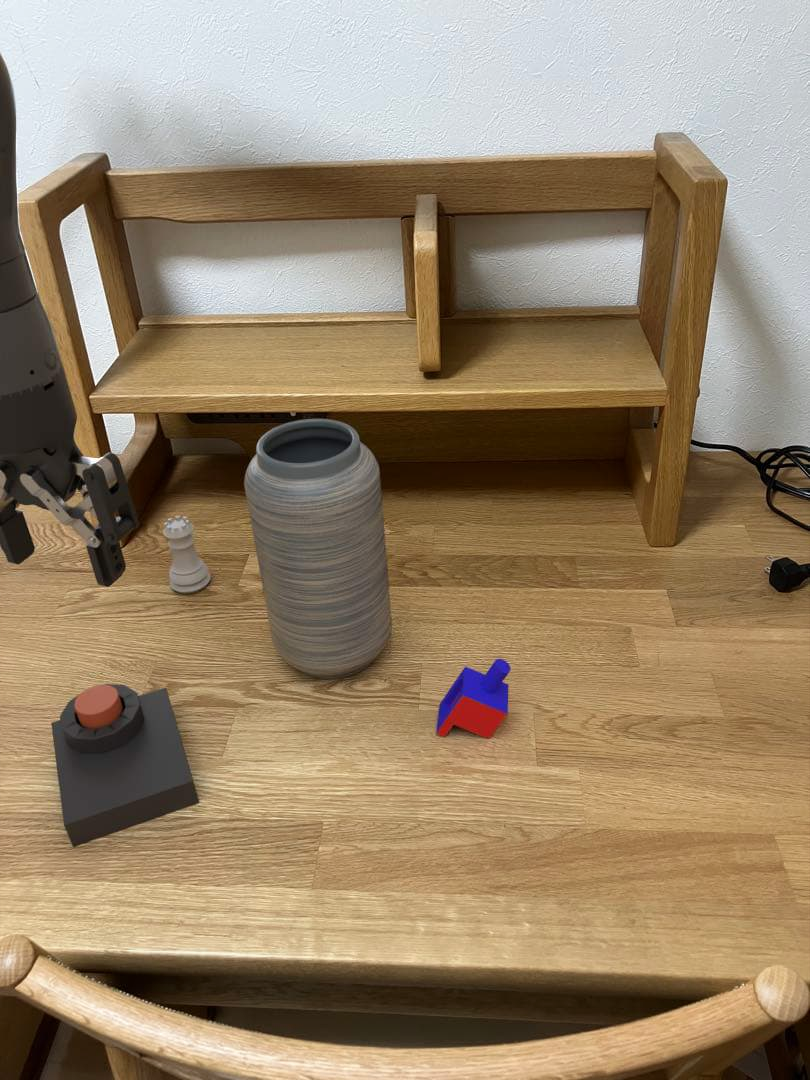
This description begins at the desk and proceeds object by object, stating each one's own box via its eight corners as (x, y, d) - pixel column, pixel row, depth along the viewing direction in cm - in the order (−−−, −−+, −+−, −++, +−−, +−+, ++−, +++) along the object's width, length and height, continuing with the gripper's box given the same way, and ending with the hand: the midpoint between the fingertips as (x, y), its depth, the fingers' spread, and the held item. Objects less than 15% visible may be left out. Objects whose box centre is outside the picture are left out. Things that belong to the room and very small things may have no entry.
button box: (58, 738, 80) (44, 701, 77) (170, 703, 83) (160, 667, 80) (73, 847, 70) (57, 809, 67) (199, 803, 73) (188, 765, 70)
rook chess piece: (219, 583, 98) (205, 522, 94) (182, 601, 96) (167, 538, 91) (199, 566, 101) (185, 506, 97) (163, 583, 99) (147, 522, 94)
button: (77, 707, 77) (72, 692, 76) (119, 694, 78) (114, 679, 77) (81, 734, 74) (76, 719, 73) (125, 721, 75) (120, 705, 74)
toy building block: (479, 751, 78) (523, 692, 73) (435, 733, 77) (477, 673, 73) (481, 721, 81) (523, 663, 76) (439, 704, 80) (479, 644, 76)
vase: (332, 598, 95) (307, 399, 82) (418, 641, 88) (405, 431, 75) (250, 657, 87) (209, 449, 75) (336, 708, 81) (307, 490, 68)
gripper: (-125, 378, 58) (-42, 578, 67) (46, 406, 53) (111, 618, 62) (-37, 336, 64) (28, 526, 73) (125, 358, 59) (174, 559, 68)
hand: (66, 569), depth 68 cm, fingers open, 8 cm apart
